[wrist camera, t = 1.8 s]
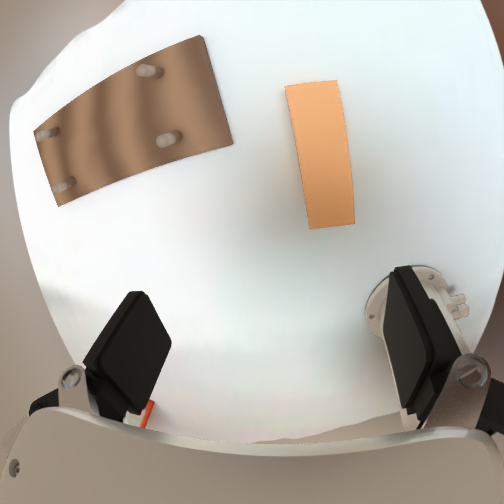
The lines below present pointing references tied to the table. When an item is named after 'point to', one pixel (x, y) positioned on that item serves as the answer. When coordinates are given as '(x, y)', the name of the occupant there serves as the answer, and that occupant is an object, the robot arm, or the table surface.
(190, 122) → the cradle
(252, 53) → the table surface
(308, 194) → the jaw block
